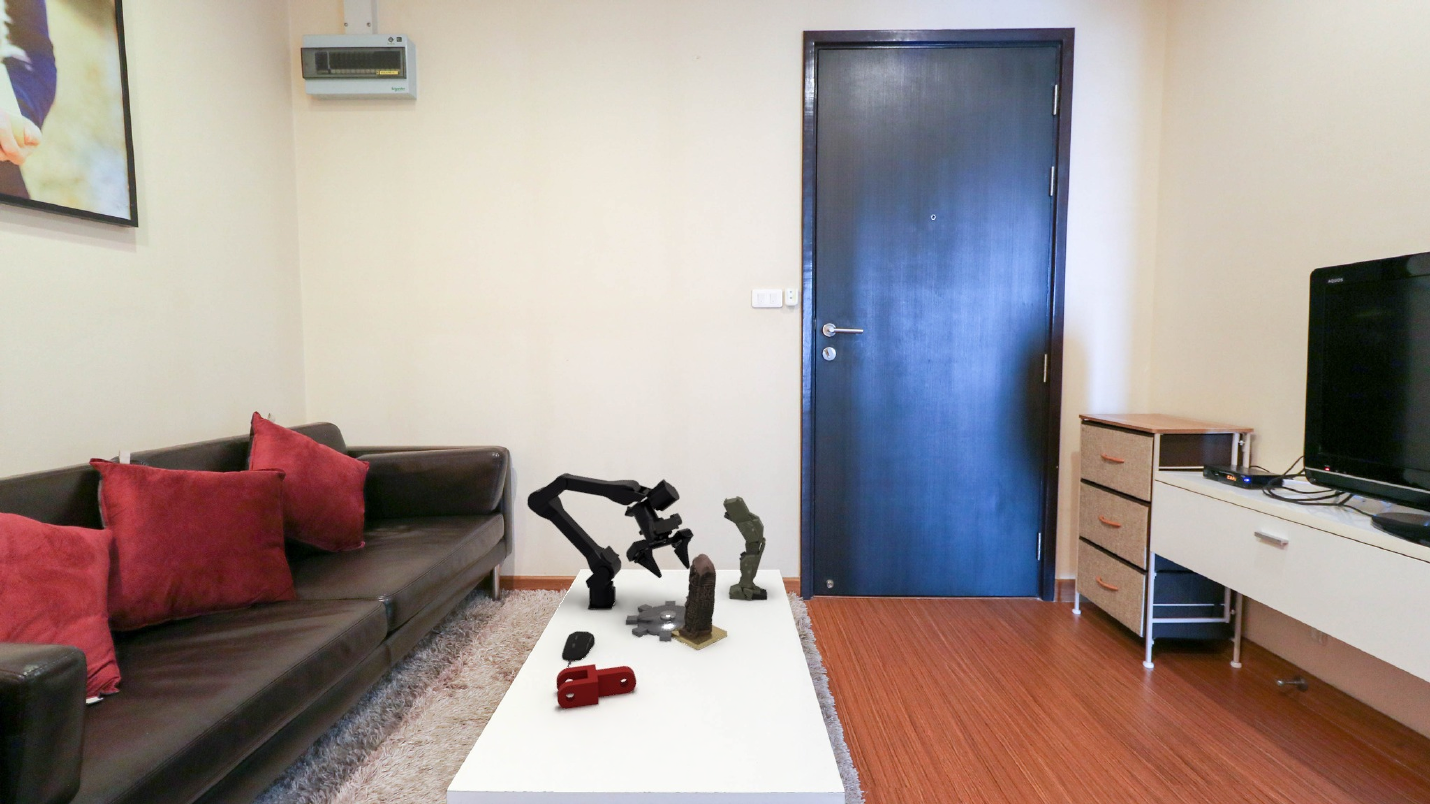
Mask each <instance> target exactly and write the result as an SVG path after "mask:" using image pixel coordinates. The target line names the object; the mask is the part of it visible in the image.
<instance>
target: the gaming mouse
mask: <svg viewBox="0 0 1430 804" xmlns="http://www.w3.org/2000/svg"><path fill="white" fill-rule="evenodd" d="M595 641H596V638H595V635H594V634H593V633H591V632H590V631H579V630H576V631H573V632H572V633H570V634H568V636H567V638H566V641H565V643H564V647H563V649H562V652H561V658H562V660H565V661H567V660H568V663H567V666H566V668H567V667H568V668H570V666H569V665H571V664H572V663H571V662H576V661H575V660H578V661H582V660H583V659H585V658H586V657H587V656H588V655H587V654H589V653H590V652H589V651H591V650H592V649H593V647H594V645H595ZM591 648H592V649H591ZM590 649H591V650H590ZM586 655H587V656H586ZM582 658H583V659H582ZM581 659H582V660H581Z"/></svg>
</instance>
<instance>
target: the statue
mask: <svg viewBox="0 0 1430 804" xmlns="http://www.w3.org/2000/svg"><path fill="white" fill-rule="evenodd" d="M716 582H717V571H716V568H715V564H714V562H712V560H711V559H710V557H709V556H708V555H707V554H705V553H699V554H698V555H697V556H695V557H694V558H693V559H692V562H691V565H690V568H689V574H688V585H687V586H688V588H687V589H688V592H687V593H688V594H687V596H685V599H686V600H685V602H684V606H685V615H684V620H685V625H683V627H682V628H679V630H678V632H679V634H681V635H683V636H685V637H687V638H689V639H695V638H696V637H699V636H705V635H709V634H710V633H711V632H712V625H713V616H714V612H715V602H716V599H715V596H716V592H715V591H716V584H717V583H716Z"/></svg>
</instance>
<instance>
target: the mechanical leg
mask: <svg viewBox="0 0 1430 804" xmlns="http://www.w3.org/2000/svg"><path fill="white" fill-rule="evenodd" d="M723 507H724V509H725V512H724V515H723V519H726V520H728V521H729V522H732V523H733V524H735V526H736V528H737V529H738V531H739V533H740V534H741V535H742V537H743V539H744V541H745V543H744V546H745V547H744V548H745V550H744V551H742V552H741V553H740V554H739V555H740V557H739V571H740V574H741V575H740V577H739V581H738V583H734V584H732V585H730V587H729V591H728V594H729V599H731V600H746V601H747V600H749V601H767V599H768V592H767V589H766V588H761V586H758V585H756V584H755V583H754V579H755V577H757V573H758V570H759V567H760V564H761V560H762V556H763V553H764V551H765V548H766V541H767V539H766V537H764V532H765V531H764V530H765V529H764V528H765V527H764V523H763V522H762V520H761V519H760V516H759V515H757V514H755V513H753V512H752V511H750V509H749V507H748V506H747V504H746V502H745V500H744V499H743V497H742V496H741V497H740V496H736V497H731V498H727V497H725V499H724V500H723Z"/></svg>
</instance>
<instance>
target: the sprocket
mask: <svg viewBox="0 0 1430 804" xmlns="http://www.w3.org/2000/svg"><path fill="white" fill-rule="evenodd" d="M637 612H638V614H636V615H627V616H626V620H625V625H626V626H628V625H629V626H630V625H631V626H634V625H636V626H635V627H634V628H632V629H631V634H632V635H633V636H635V637H637V638H641V637H644V636H646V635H652V636H655V635H657V637H658V638H659V639H658V640H659V641H671V642H672V639H674V638H675V639H674V640H676V639H677V641H678V640H679V642H680V641H681V642H680V643H682V642H683V643H682V644H684V643H685V645H686V644H687V646H688V645H689V647H690V646H692V647H691V648H693V649H695V648H696V649H695V650H697V649H699V650H701V649H703V648H705V647H707V646H709V644H710V645H711V644H713V642H714V643H716V642H718V641H719V640H718V639H720V640H721V639H724V638H726V637H727V636H728V631H727V630H724V629H723V628H720V627H718V626H715V625H713V624H712V632H711V633H710V634H709V635H705V636H699V637H696V638H695V639H689V638H687V637H685V636H683V635H681V634H679V632H678V630H679V628H682V627H683V625H685V620H684V615H685V605H684V606H683V605H677V604H676V600H665V602H664V605H656V606H651V605H649V604H647V603H646V604H641V605H640V606H638V607H637ZM643 635H644V636H643ZM725 636H726V637H725ZM672 637H673V638H672ZM723 637H724V638H723ZM717 640H718V641H717ZM715 641H716V642H715ZM704 646H705V647H704ZM702 647H703V648H702ZM700 648H701V649H700Z"/></svg>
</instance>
